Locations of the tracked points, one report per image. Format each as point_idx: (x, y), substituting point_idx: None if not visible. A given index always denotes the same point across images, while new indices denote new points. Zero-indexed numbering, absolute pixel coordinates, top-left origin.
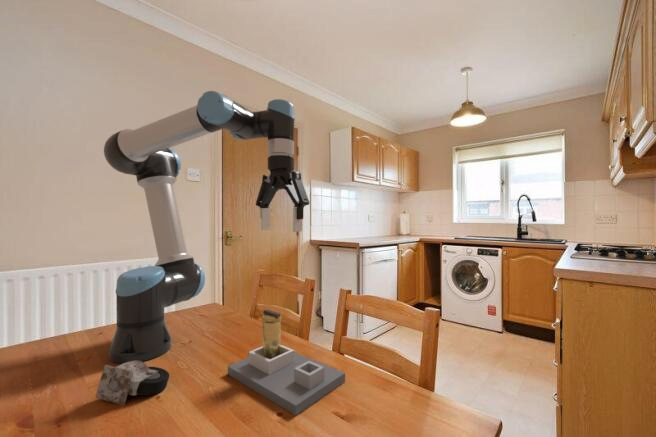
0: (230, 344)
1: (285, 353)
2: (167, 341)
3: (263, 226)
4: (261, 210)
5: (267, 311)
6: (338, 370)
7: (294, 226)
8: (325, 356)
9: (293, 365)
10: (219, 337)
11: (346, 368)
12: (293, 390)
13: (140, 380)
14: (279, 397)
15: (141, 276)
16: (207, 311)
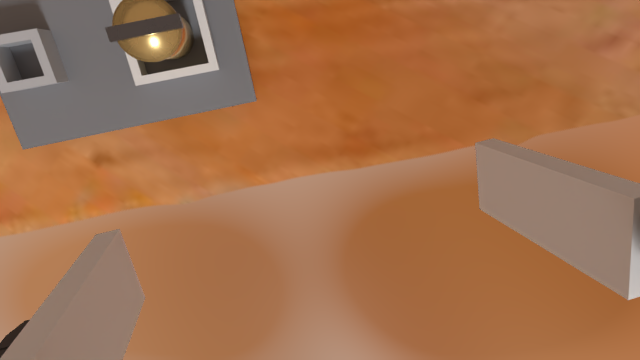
0: (371, 21)
1: (130, 56)
2: None
3: (492, 155)
4: (633, 183)
5: (158, 18)
6: (42, 144)
7: (87, 253)
8: (164, 179)
9: (126, 72)
10: (431, 16)
11: (83, 183)
12: (14, 8)
13: None
14: None
15: None
16: (630, 65)
